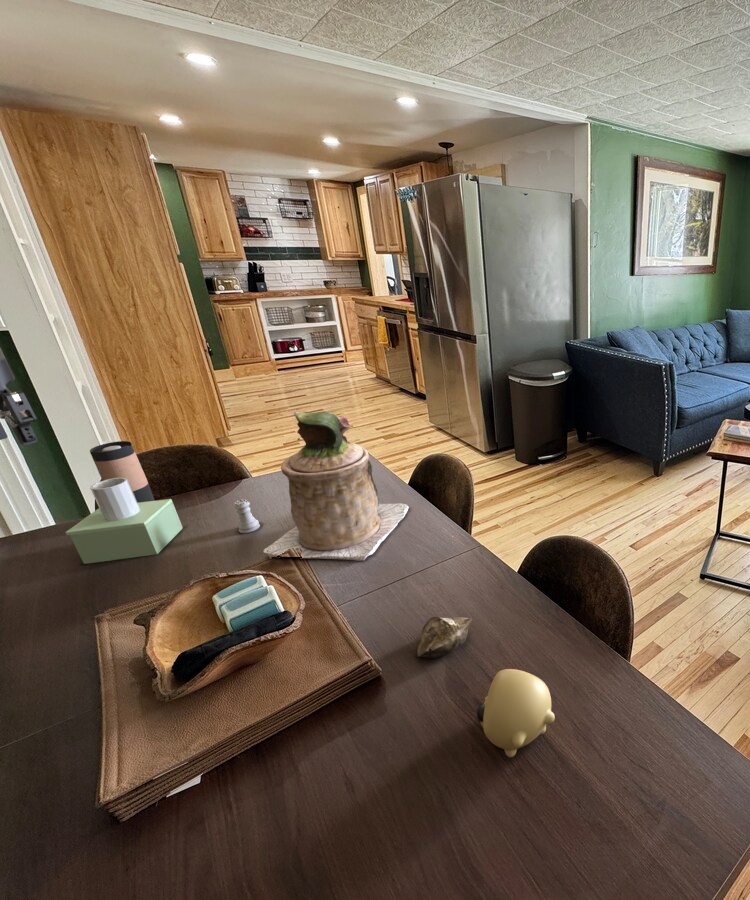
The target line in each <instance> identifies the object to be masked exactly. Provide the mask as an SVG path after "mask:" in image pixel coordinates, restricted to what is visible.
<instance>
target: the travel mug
mask: <svg viewBox="0 0 750 900" xmlns="http://www.w3.org/2000/svg"><path fill="white" fill-rule="evenodd" d="M89 453H90V455H91V458H92V461H93V463H94V466H95V467H96V470H97V471H98V474H99V476H100V478H101V481H104V480H107V479H113V478H126V479H127V480H128V482H129V484H130V487H131V489H132V491H133V494H134V496H135V498H136V501H137V503H140V502H149V501H156V500H155V497H154V495H153V491H152V490H151V487H150V484H149V482H148V479H147V477H146V474H145V472H144V470H143V467H142V464H141V463H140V460H139V458H138V456H137V453H136V451H135V449H134V447H133V444H132V442H130V441H128V440H121V441H120V440H119V441H112V442H111V441H110V442H106V443H103V444H99V445H96V446H93V447H92V448H90V449H89Z"/></svg>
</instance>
